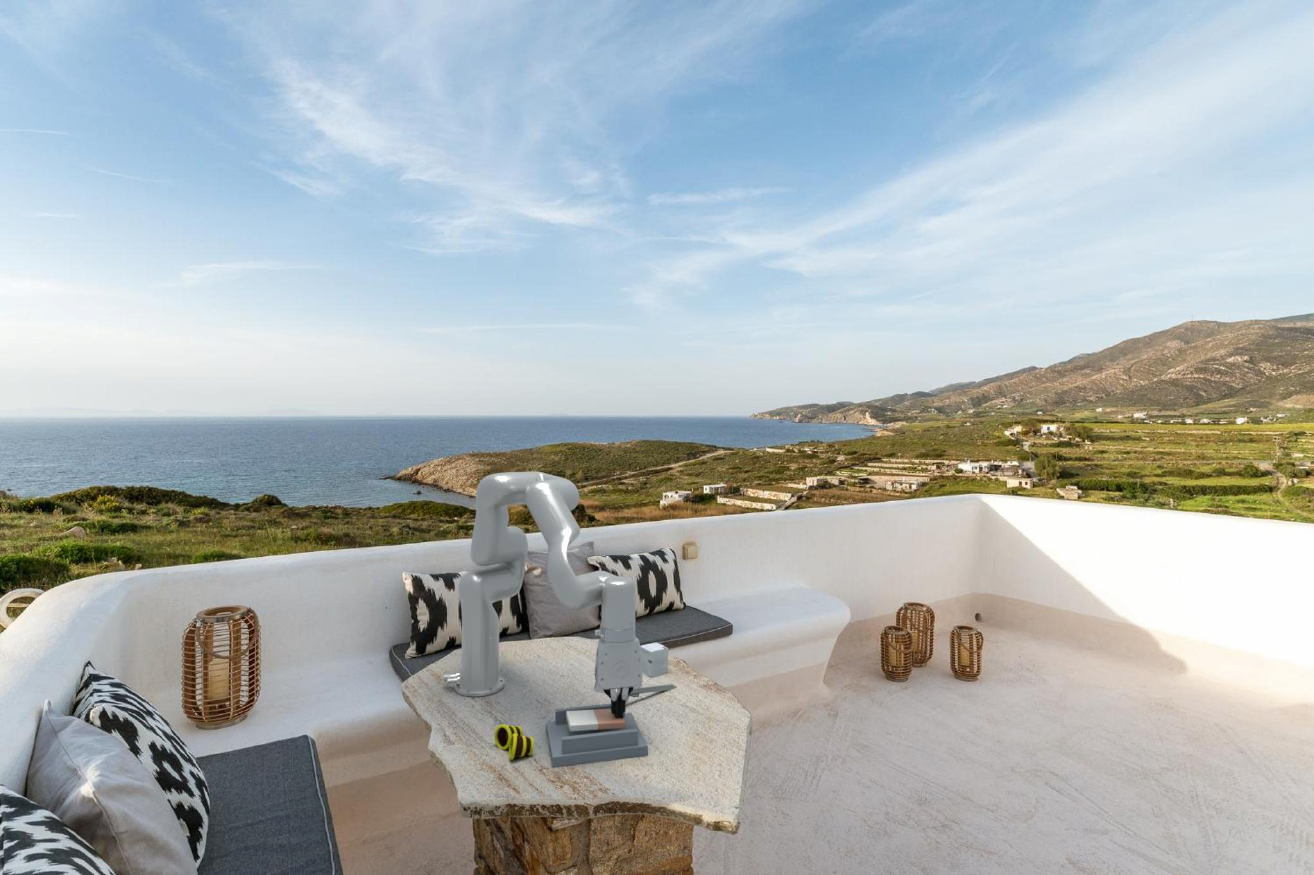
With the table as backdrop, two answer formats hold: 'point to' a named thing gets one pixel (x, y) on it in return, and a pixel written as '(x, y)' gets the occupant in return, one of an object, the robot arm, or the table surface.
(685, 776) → the table surface
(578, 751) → the grey piece
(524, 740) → the opera glasses
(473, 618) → the robot arm
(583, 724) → the two-tone peach white tile
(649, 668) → the skincare box
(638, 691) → the caliper
